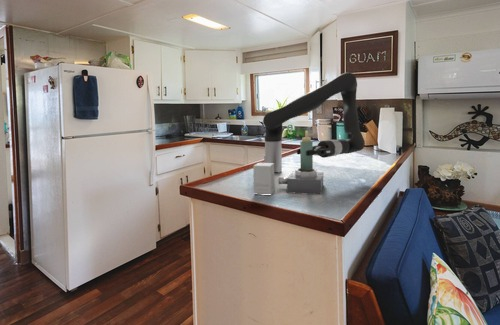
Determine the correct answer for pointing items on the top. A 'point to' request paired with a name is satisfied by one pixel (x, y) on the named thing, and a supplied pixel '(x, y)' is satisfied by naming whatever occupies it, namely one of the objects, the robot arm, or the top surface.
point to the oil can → (305, 160)
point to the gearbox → (304, 181)
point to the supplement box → (264, 178)
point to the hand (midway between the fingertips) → (302, 152)
